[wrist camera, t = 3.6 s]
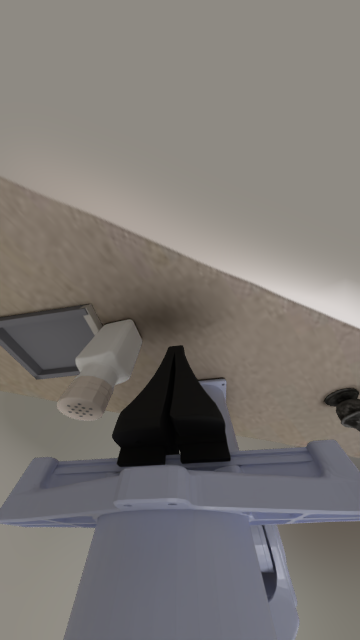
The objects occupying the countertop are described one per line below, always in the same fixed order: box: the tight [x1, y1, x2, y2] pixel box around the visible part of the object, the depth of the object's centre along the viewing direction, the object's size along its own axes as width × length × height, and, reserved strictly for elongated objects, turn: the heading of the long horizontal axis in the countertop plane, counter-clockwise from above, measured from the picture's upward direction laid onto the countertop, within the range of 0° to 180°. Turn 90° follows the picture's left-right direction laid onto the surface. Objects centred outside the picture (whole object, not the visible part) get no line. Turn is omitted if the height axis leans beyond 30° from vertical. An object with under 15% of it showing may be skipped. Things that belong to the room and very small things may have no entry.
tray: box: [0, 304, 103, 379], centre depth 19 cm, size 10×13×1 cm
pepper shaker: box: [57, 319, 142, 421], centre depth 14 cm, size 4×4×10 cm
